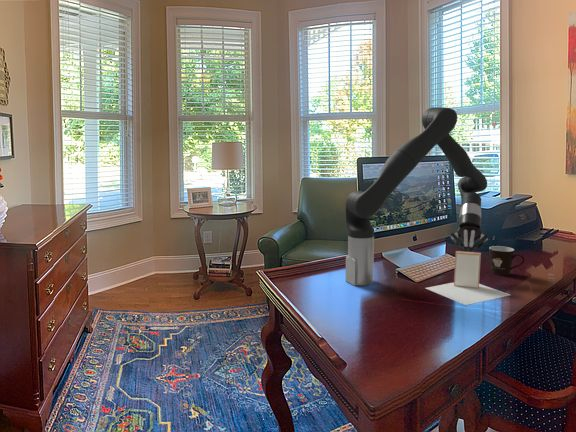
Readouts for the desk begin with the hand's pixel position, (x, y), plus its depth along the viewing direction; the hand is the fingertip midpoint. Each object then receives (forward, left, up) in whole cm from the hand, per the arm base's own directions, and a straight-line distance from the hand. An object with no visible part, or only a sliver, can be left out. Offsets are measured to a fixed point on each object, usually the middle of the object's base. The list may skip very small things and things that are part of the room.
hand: (467, 257), depth 153 cm
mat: (-7, -7, -10) cm, 14 cm away
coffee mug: (+20, +1, -10) cm, 22 cm away
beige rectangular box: (-3, -3, -9) cm, 10 cm away
